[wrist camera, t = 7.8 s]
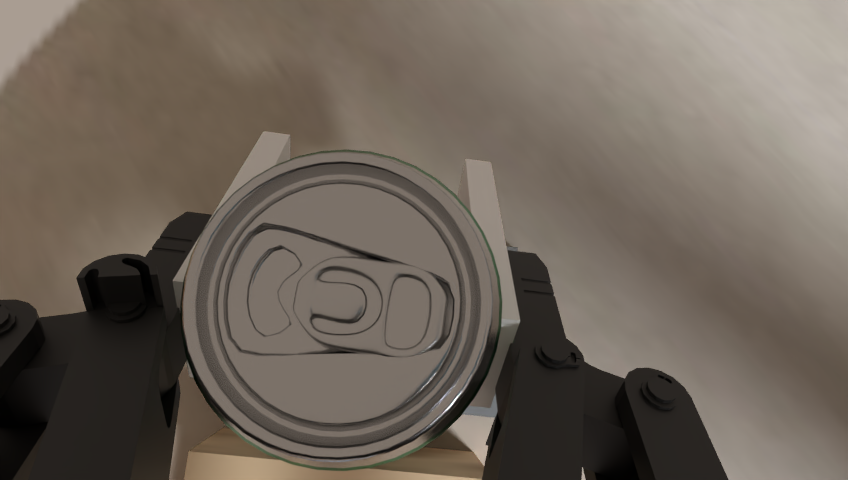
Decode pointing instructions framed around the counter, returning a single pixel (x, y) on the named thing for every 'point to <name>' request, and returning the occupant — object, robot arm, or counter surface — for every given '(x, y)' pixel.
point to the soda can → (341, 310)
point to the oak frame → (267, 476)
